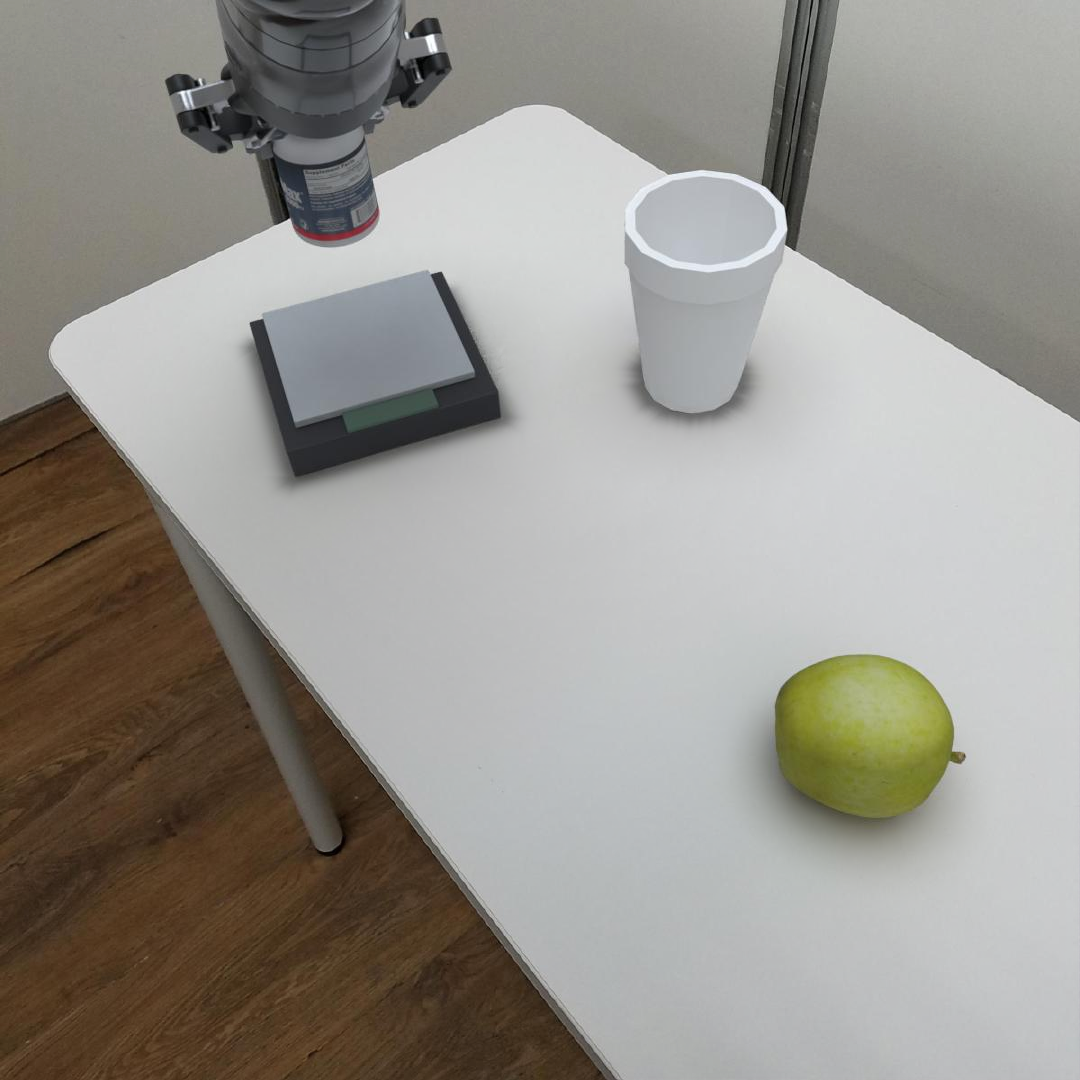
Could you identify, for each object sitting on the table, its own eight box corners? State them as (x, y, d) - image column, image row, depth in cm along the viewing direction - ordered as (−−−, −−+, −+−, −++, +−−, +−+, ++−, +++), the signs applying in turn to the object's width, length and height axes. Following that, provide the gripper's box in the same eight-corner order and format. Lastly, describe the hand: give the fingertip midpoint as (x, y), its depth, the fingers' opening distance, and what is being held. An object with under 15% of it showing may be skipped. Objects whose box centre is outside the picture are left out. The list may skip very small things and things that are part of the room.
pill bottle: (286, 207, 67) (249, 69, 60) (369, 188, 68) (342, 49, 61) (302, 259, 64) (264, 120, 57) (389, 238, 65) (363, 98, 58)
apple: (950, 852, 54) (996, 783, 48) (762, 833, 55) (783, 763, 49) (936, 711, 59) (976, 631, 52) (763, 696, 60) (782, 615, 53)
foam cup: (606, 416, 73) (606, 258, 62) (636, 323, 78) (642, 162, 67) (750, 441, 71) (775, 282, 60) (771, 343, 76) (798, 181, 66)
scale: (295, 477, 71) (284, 446, 68) (257, 347, 78) (246, 315, 76) (501, 417, 73) (498, 385, 71) (445, 296, 81) (440, 263, 78)
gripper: (449, -105, 47) (413, 34, 63) (111, -36, 45) (165, 90, 61) (498, 73, 48) (450, 165, 65) (170, 150, 46) (207, 225, 62)
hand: (311, 128), depth 63 cm, fingers closed on pill bottle, 5 cm apart
